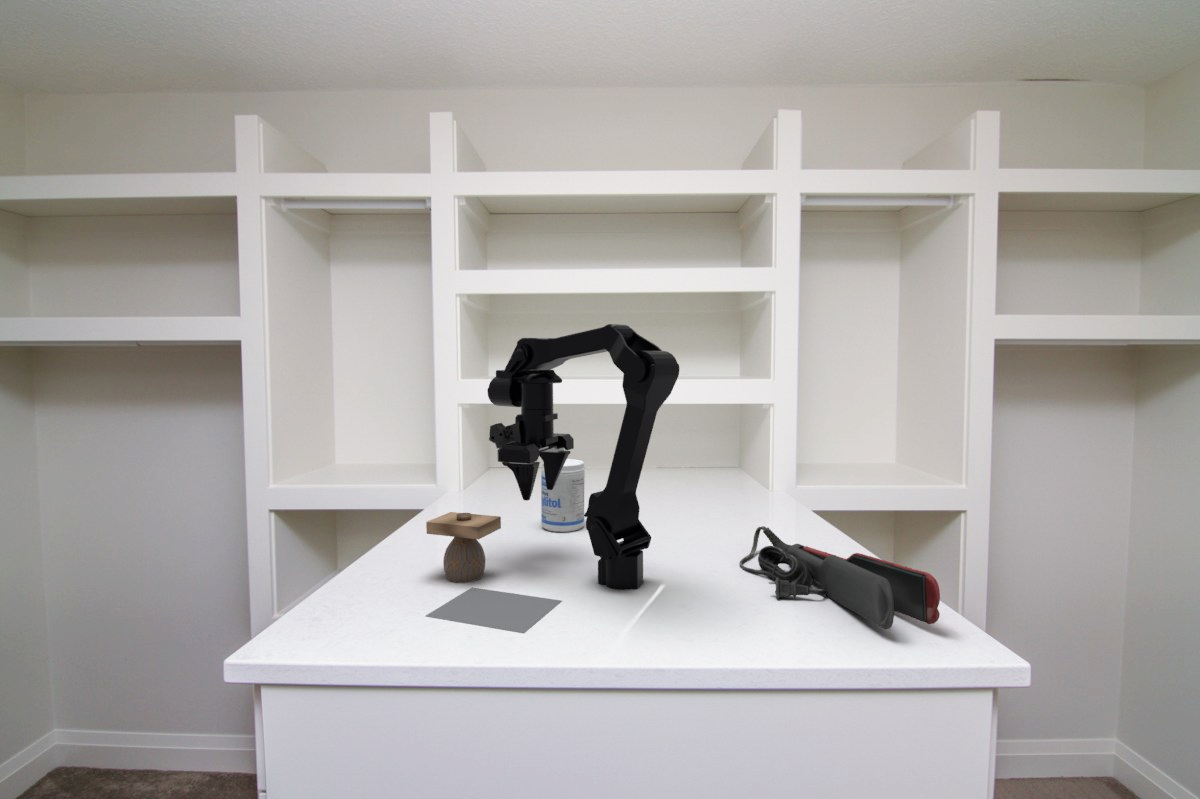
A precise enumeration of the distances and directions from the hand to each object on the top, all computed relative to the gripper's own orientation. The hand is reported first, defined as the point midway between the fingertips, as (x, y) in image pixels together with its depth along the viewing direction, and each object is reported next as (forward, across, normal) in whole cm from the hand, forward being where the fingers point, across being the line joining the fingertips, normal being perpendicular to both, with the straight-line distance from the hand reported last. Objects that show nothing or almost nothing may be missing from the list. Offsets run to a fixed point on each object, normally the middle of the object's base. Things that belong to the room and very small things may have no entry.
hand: (538, 494), depth 114 cm
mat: (+13, +22, +4) cm, 26 cm away
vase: (+13, +12, -8) cm, 20 cm away
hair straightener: (+14, -5, +49) cm, 51 cm away
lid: (+4, +12, -8) cm, 15 cm away
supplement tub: (+13, -25, -7) cm, 29 cm away
